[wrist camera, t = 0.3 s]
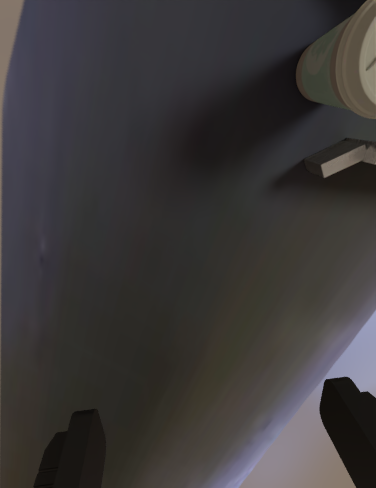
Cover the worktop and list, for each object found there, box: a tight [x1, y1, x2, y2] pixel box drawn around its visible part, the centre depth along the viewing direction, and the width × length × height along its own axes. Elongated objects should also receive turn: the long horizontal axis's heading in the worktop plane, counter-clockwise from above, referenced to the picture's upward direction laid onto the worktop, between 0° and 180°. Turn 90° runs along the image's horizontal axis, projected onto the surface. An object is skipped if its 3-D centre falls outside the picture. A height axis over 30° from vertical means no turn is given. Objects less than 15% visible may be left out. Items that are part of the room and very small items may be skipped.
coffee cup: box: [296, 0, 376, 119], centre depth 26 cm, size 8×8×12 cm
